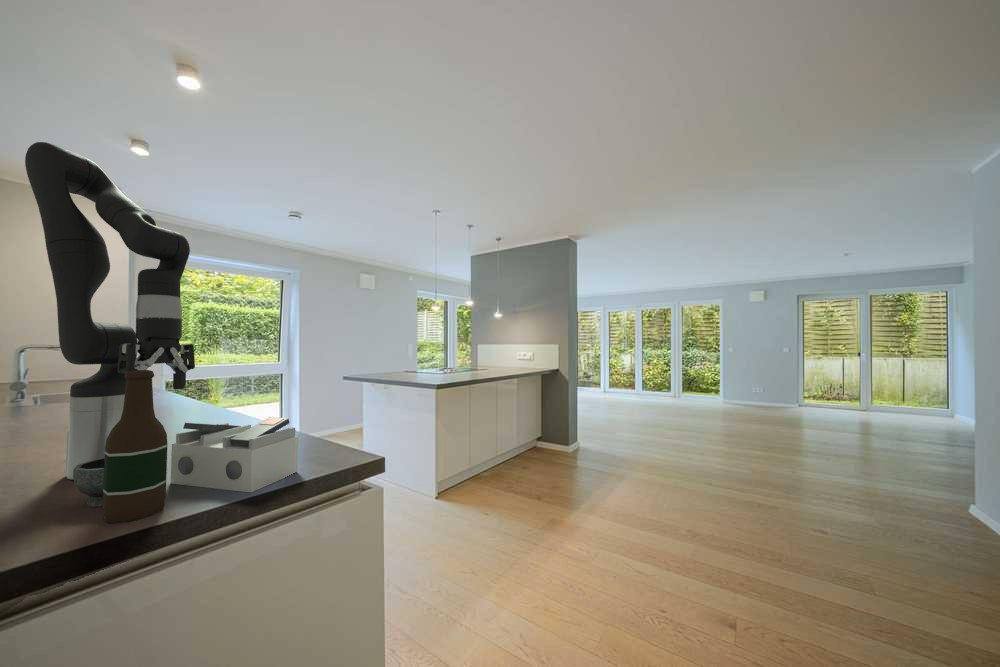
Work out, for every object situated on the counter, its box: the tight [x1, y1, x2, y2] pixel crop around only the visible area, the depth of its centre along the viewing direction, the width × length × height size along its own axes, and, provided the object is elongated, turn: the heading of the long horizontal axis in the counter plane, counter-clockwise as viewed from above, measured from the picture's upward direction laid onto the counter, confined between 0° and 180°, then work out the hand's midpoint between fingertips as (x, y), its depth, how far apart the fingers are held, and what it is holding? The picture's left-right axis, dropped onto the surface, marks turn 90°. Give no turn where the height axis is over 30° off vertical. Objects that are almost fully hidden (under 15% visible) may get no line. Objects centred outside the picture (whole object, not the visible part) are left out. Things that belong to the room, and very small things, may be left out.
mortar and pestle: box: [73, 458, 104, 508], centre depth 70 cm, size 11×9×12 cm
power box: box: [170, 422, 299, 493], centre depth 81 cm, size 20×12×10 cm, turn 77°
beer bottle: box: [102, 369, 168, 524], centre depth 64 cm, size 8×8×24 cm
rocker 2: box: [230, 416, 290, 446], centre depth 80 cm, size 5×10×1 cm, turn 167°
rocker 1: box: [183, 422, 242, 431], centre depth 82 cm, size 5×10×1 cm, turn 167°
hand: (159, 391), depth 82 cm, fingers open, 8 cm apart
